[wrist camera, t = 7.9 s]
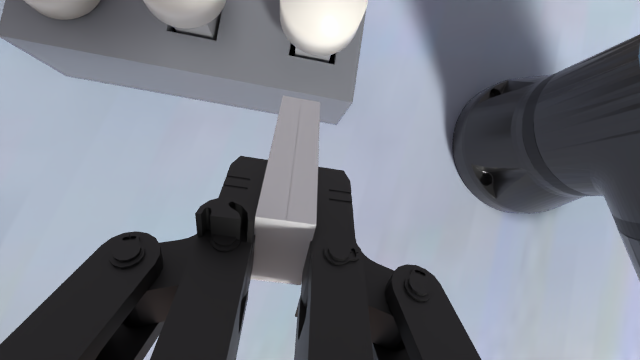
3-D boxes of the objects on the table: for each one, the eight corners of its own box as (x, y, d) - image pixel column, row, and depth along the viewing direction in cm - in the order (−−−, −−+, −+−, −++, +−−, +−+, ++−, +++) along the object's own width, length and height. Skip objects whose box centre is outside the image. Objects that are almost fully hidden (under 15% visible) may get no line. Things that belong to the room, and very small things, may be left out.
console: (354, 5, 37) (375, -51, 29) (336, 124, 36) (353, 101, 28) (94, -53, 34) (36, -133, 26) (65, 75, 33) (-6, 33, 25)
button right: (349, 24, 30) (373, -39, 22) (340, 86, 30) (361, 44, 22) (285, 11, 30) (287, -59, 22) (275, 73, 29) (272, 25, 21)
